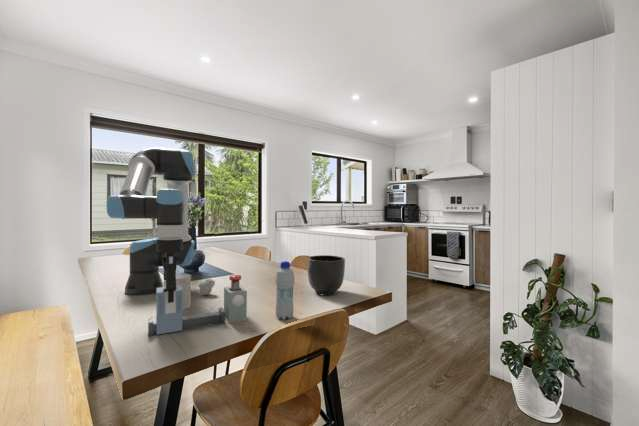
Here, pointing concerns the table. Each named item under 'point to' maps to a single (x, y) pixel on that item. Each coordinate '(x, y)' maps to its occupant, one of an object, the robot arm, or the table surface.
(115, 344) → the table surface
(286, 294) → the bottle
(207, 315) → the rail
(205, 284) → the frog figurine
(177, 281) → the cup
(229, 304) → the cabinet
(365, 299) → the table surface
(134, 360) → the table surface
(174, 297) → the robot arm
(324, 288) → the planter
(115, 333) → the table surface
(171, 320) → the carriage
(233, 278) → the plunger
